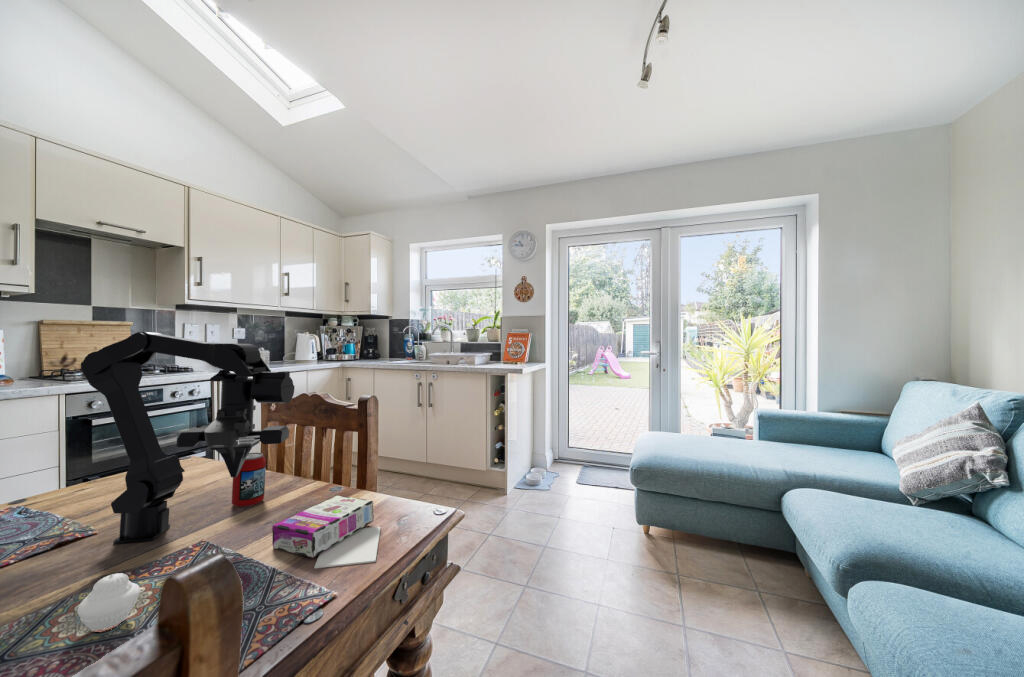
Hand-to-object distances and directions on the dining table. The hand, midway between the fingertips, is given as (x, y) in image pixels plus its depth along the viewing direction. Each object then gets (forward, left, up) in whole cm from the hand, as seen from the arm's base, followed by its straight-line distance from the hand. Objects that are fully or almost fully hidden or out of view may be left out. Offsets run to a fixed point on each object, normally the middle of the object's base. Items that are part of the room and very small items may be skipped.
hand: (234, 476), depth 81 cm
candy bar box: (+14, -11, -10) cm, 20 cm away
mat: (+25, -10, -12) cm, 29 cm away
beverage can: (-3, +17, -12) cm, 21 cm away
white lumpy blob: (-5, -26, -12) cm, 29 cm away
